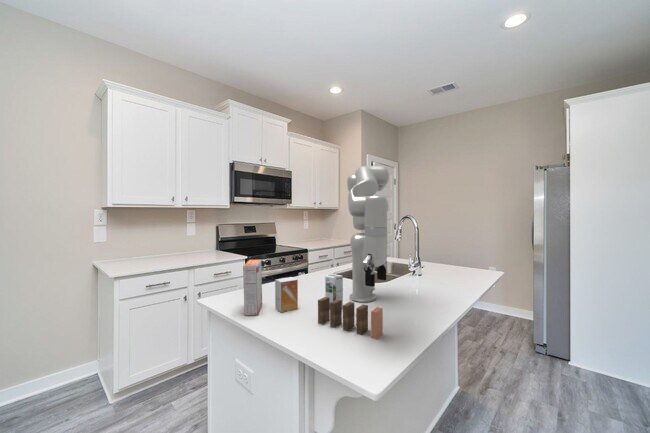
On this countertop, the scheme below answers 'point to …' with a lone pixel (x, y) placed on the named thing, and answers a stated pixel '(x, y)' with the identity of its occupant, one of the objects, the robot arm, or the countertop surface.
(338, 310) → the domino
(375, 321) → the domino
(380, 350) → the countertop surface
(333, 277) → the syrup box
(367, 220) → the robot arm
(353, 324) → the domino
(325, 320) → the domino
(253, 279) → the cracker box
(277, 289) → the small box
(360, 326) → the domino
